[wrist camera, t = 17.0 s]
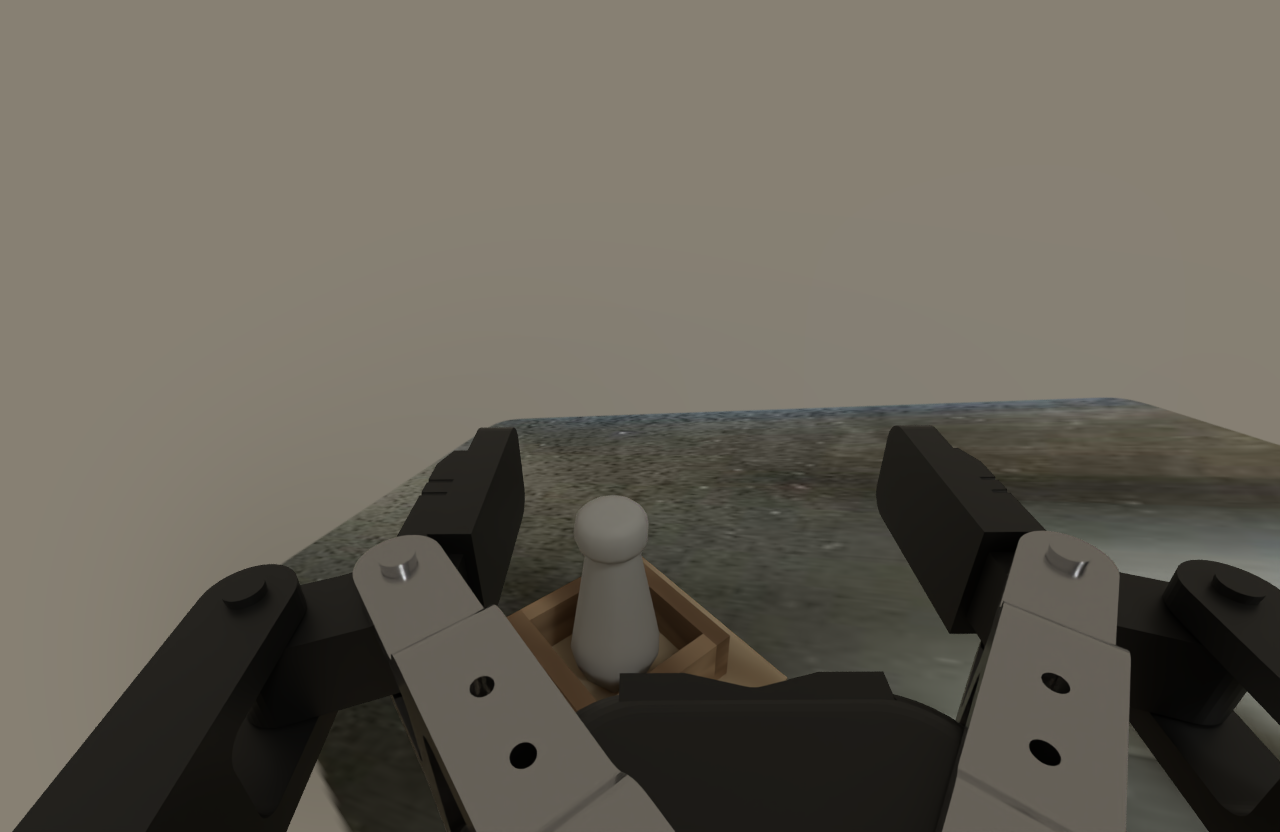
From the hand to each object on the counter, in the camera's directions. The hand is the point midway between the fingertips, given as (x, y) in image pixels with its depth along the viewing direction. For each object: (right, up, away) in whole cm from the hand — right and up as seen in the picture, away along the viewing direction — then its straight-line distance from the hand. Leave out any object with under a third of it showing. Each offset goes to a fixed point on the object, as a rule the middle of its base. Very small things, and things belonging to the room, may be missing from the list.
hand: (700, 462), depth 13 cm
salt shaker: (-3, -16, +27) cm, 31 cm away
